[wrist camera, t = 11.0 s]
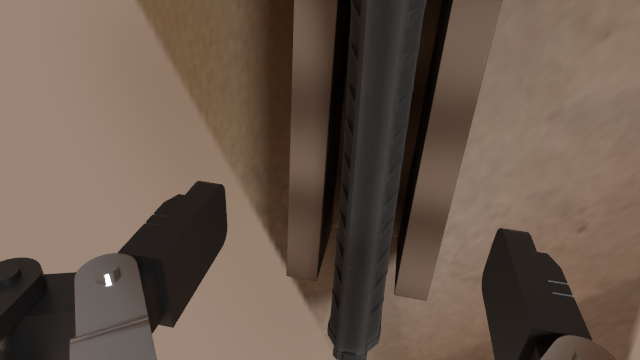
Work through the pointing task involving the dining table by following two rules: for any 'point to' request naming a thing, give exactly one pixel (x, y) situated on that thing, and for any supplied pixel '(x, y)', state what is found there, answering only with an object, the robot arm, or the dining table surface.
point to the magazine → (371, 165)
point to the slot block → (421, 137)
